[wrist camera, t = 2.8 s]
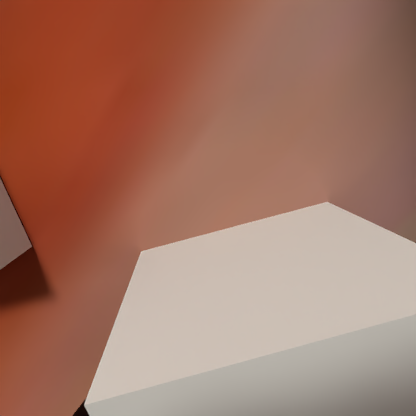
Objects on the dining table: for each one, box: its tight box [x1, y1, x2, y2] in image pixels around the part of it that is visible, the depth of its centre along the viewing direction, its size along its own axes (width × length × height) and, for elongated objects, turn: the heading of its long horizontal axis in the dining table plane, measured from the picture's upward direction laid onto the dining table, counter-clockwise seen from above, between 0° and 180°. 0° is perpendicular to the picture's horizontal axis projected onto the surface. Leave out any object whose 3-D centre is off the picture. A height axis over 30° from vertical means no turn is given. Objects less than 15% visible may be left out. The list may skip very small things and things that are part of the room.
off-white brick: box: [84, 202, 416, 416], centre depth 7 cm, size 6×6×5 cm
